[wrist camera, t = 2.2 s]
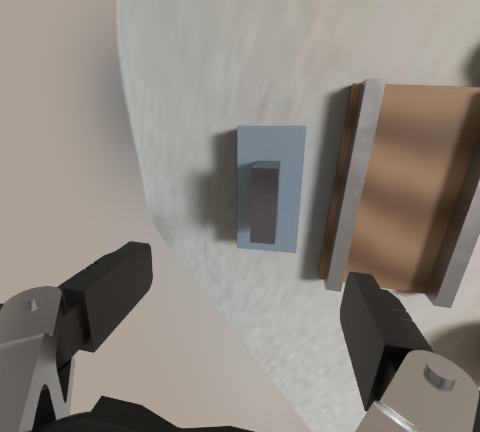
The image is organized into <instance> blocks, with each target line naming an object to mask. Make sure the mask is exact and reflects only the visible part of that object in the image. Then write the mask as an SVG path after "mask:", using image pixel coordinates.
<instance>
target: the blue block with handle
mask: <svg viewBox="0 0 480 432" xmlns="http://www.w3.org/2000/svg"><path fill="white" fill-rule="evenodd" d="M305 136H306V126H237V248H243V249H256V250H268V251H280V252H292V253H296V246H297V234H298V221H299V209H300V197H301V185H302V172H303V160H304V148H305Z"/></svg>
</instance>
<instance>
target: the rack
mask: <svg viewBox="0 0 480 432" xmlns="http://www.w3.org/2000/svg"><path fill="white" fill-rule="evenodd" d="M479 234H480V87H455V86H425V85H394V84H386V80H379V79H366V80H365V81H363V82H362V83H354V84H353V85H352V87H351V92H350V98H349V104H348V109H347V115H346V120H345V126H344V132H343V137H342V143H341V148H340V154H339V160H338V165H337V171H336V176H335V182H334V188H333V193H332V199H331V204H330V210H329V216H328V221H327V227H326V232H325V238H324V244H323V249H322V255H321V260H320V266H319V271H318V276H319V279H324V283H325V288H326V290H333V291H339V292H341V288H342V283H343V282H346V280H347V276H348V273H349V272H350V271H351V272H358V273H366V274H372V275H373V277H374V278H375V280H376V282H377V283H378V285H379V287H381V288H388V289H395V290H402V291H409V292H416V293H423V294H425V295H426V296H427V298H428V299H429V300H430V301H431V302H432V303H433V305H434V306H441V307H448V308H451V306H452V303H453V301H454V298H455V296H456V293H457V291H458V288H459V285H460V283H461V280H462V278H463V275H464V273H465V270H466V267H467V265H468V262H469V260H470V257H471V255H472V252H473V249H474V247H475V244H476V242H477V239H478V237H479Z"/></svg>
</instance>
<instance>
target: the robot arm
mask: <svg viewBox="0 0 480 432" xmlns="http://www.w3.org/2000/svg"><path fill="white" fill-rule="evenodd" d="M152 280H153V272H152V255H151V247H150V245H149V244H148V243H140V242H133V241H131V242H128V243H127V244H125V245H124V246H122V247H121V248H120V249H118V250H117V251H115V252H112V253H110V254H107V255H104V256H103V257H101V258H100V259H98V260H97V261H95V262H94V264H91V265H89V266H88V267H86V269H83V270H82V271H80V272H79V273H77V274H76V275H74V276H73V277H71V278H70V279H68V280H67V281H65V282H64V283H62V284H61V285H59V286H58V287H52V286H45V287H37V288H32V289H29V290H26V291H23V292H21V293H19V294H17V295H15V296H13V297H11V298H10V299H9V300H8V301H6V302H5V303H4V304H0V432H253V431H249V430H245V429H240V428H237V427H232V426H221V427H203V428H178V427H176V426H175V425H173V424H171V423H170V422H168V421H166V420H165V419H163V418H162V417H160V416H158V415H157V414H155V413H153V412H152V411H150V410H149V409H147V408H145V407H144V406H142V405H139V404H135V403H131V402H126V401H122V400H118V399H114V398H109V397H105V396H101V398H100V399H99V400H98V402H97V403H96V405H95V406H94V408H93V409H92V410H91V412H83V413H78V414H74V415H70V406H71V396H72V386H73V376H74V366H75V359H74V354H75V353H76V352H77V351H78V350H83V351H88V352H93V353H94V352H95V351H96V350H97V349H98V347H100V345H101V344H102V343H103V342H104V341H105V340H106V338H107V337H108V336H109V335H110V334H111V333H112V332H113V331H114V329H115V328H116V327H117V326H118V325H119V324H120V323H121V321H122V320H123V319H124V318H125V317H126V315H128V314H129V312H130V311H131V310H132V309H133V308H134V307H135V306H136V304H137V303H138V302H139V301H140V300H141V299H142V298H143V296H144V295H145V294H146V293H147V292H148V291H149V289H150V287H151V284H152ZM340 322H341V326H342V330H343V333H344V337H345V341H346V344H347V348H348V352H349V355H350V359H351V362H352V366H353V370H354V373H355V377H356V381H357V384H358V388H359V391H360V395H361V399H362V402H363V406H364V410H365V411H368V412H367V413H366V415H365V417H364V418H363V420H362V422H361V423H360V425H359V427H358V428H357V430H356V432H480V391H479V390H478V388H477V386H476V384H475V382H474V381H473V380H472V378H471V377H470V376H469V375H468V374H467V373H466V372H465V371H464V370H463V369H461V368H460V367H459V366H458V365H456V364H455V363H453V362H452V361H450V360H448V359H447V358H445V357H442V356H440V355H438V354H435V353H434V352H433V350H432V349H431V347H430V346H429V344H428V343H427V341H426V340H425V338H424V337H423V335H422V333H421V332H420V330H419V329H418V327H417V326H416V324H415V323H414V322H412V318H411V317H410V315H409V314H408V313H407V312H406V309H405V308H404V306H403V305H402V303H401V302H400V300H399V299H398V298H396V297H395V296H394V295H393V294H391V293H390V292H389V291H388V290H384V289H381V288H380V287H379V285H378V283H377V282H376V280H375V278H374V277H373V275H372V274H366V273H358V272H351V271H350V272H349V273H348V276H347V280H346V284H345V289H344V293H343V298H342V303H341V308H340Z"/></svg>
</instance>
